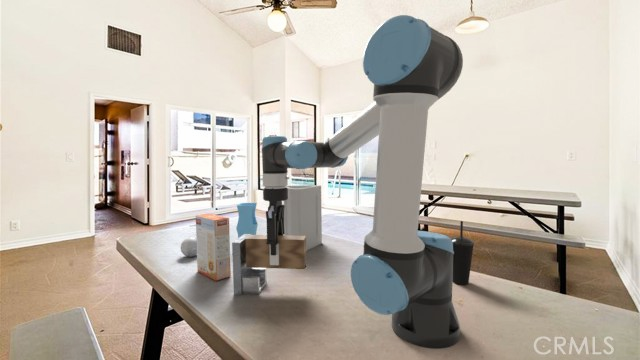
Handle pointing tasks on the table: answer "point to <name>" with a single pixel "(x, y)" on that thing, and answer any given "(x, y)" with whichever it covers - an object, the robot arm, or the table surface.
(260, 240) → the rail
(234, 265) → the bracket
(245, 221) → the vase
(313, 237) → the white triangular prism
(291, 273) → the table surface
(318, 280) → the table surface
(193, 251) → the bath bomb
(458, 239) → the drinking cup
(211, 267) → the cracker box
